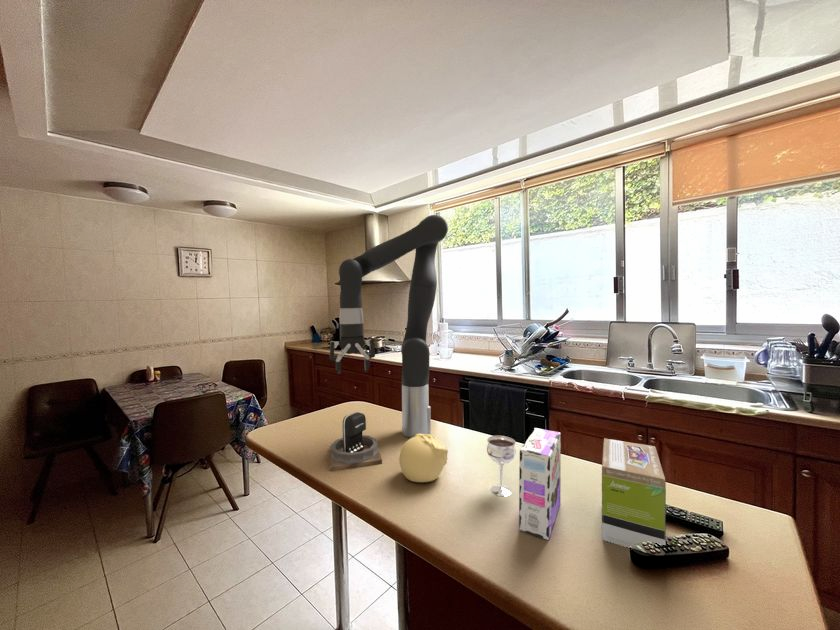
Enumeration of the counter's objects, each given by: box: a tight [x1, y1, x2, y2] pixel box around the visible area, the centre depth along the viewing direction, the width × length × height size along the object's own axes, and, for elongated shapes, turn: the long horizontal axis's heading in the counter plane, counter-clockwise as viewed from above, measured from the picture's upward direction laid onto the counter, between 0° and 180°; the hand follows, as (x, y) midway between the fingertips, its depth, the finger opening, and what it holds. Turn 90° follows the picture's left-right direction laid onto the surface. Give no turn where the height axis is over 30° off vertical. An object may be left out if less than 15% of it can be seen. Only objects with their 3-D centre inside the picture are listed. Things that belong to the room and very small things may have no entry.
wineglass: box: [486, 435, 517, 497], centre depth 78 cm, size 7×7×12 cm
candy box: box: [518, 427, 562, 541], centre depth 69 cm, size 14×6×16 cm, turn 148°
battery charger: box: [342, 411, 367, 453], centre depth 97 cm, size 7×4×11 cm, turn 148°
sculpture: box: [398, 433, 449, 483], centre depth 85 cm, size 11×12×11 cm
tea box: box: [601, 437, 667, 549], centre depth 65 cm, size 15×10×15 cm, turn 150°
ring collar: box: [329, 434, 383, 471], centre depth 97 cm, size 14×14×4 cm
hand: (353, 372), depth 106 cm, fingers open, 8 cm apart
